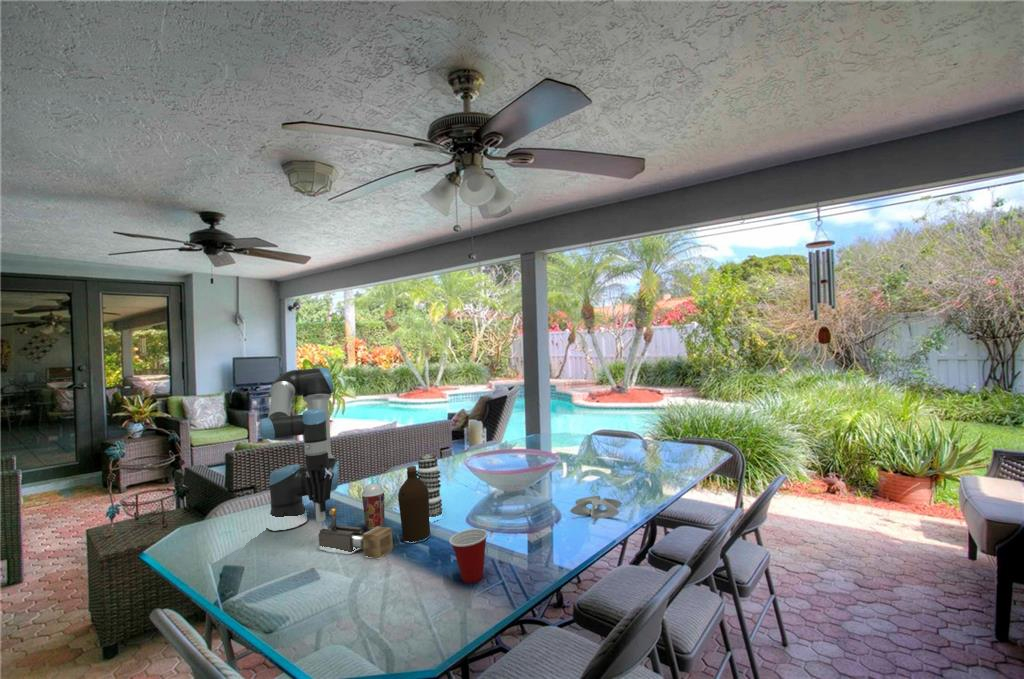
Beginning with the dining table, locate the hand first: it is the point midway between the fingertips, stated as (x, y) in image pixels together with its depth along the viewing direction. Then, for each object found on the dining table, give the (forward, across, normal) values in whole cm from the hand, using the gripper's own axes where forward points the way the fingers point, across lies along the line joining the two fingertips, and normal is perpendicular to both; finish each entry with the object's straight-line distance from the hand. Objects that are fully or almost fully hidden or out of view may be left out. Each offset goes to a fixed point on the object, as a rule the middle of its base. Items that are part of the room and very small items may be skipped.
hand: (321, 520), depth 162 cm
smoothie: (+9, +8, +18) cm, 22 cm away
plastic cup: (+9, +64, -7) cm, 65 cm away
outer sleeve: (+9, +9, 0) cm, 13 cm away
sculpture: (+9, +86, +48) cm, 99 cm away
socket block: (+9, +25, 0) cm, 27 cm away
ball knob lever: (+8, +11, 0) cm, 13 cm away
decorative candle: (+9, +24, +32) cm, 41 cm away
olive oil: (+9, +30, +14) cm, 34 cm away
